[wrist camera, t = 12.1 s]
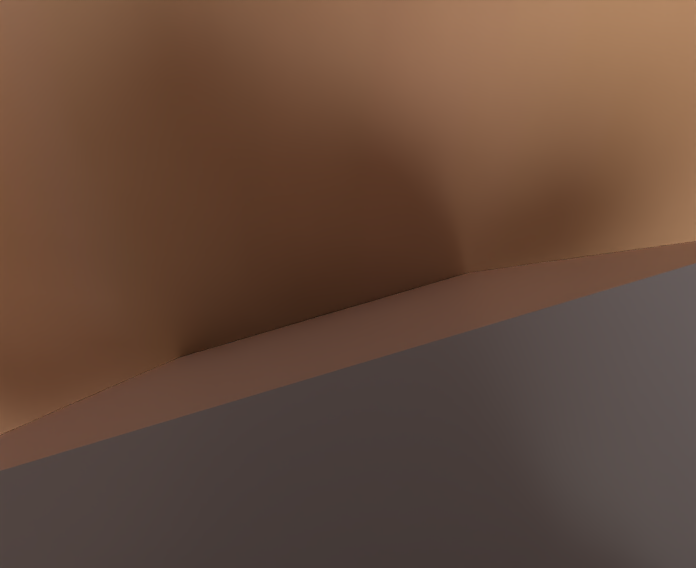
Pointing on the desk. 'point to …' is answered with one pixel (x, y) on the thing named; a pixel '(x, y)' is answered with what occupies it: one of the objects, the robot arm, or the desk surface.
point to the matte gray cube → (392, 436)
